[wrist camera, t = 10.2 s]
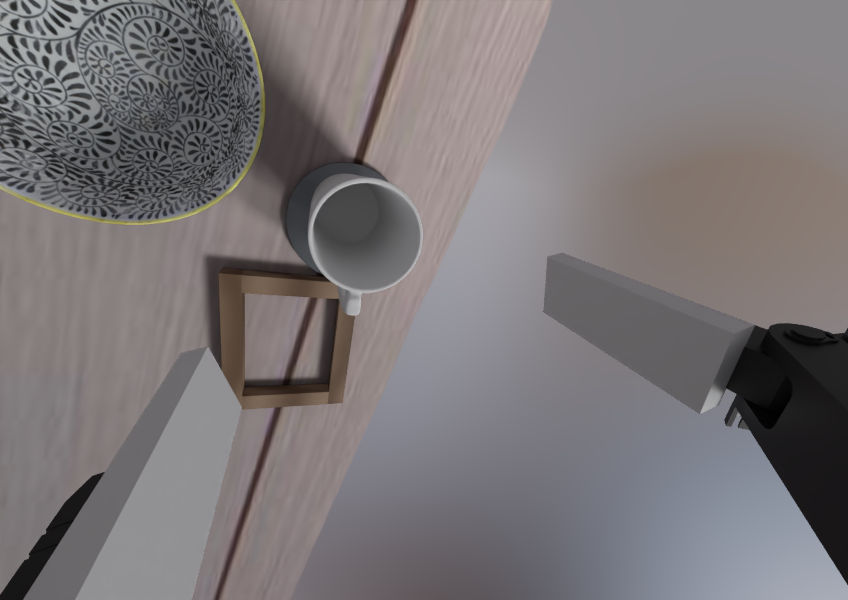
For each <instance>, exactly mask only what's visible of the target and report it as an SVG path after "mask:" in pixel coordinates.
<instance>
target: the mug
mask: <svg viewBox="0 0 848 600" xmlns="http://www.w3.org/2000/svg"><path fill="white" fill-rule="evenodd" d="M422 241H423V229H422V223H421V219H420V216H419V213H418V211H417V209H416V207H415V205H414V204H413V202H412V201H411V200H410V198H409V197H408V196H407V195H406V194H405V193H404V192H403V191H402V190H400V189H399V188H398V187H396V186H394V185H393V184H391V183H389V182H387V181H384V180H381V179H377V178H369V177H364V176H358V175H354V174H346V173H342V174H336V175H332V176H330V177H328V178H326V179H325V180H324V181H322V182H321V183H320V184H319V186H318V187H317V188H316V190H315V192H314V194H313V197H312V200H311V206H310V214H309V221H308V244H309V249H310V252H311V255H312V258H313V260H314V262H315V264H316V266H317V267H318V269H319V270H320V271H321V272H322V274H323V275H324V276H325V277H326V278H327V279H329V280H330V281H331V282H332V283H334V284H335V285H337V289H338V295H339V301H340V306H341V309H342V310H343V311H344V312H345V313H346V314H347V315H358V314H359V313H360V307H361V294H362V293H372V292H378V291H381V290H385V289H387V288H389V287H391V286H393V285H395V284H397V283H398V282H399V281H401V280H402V279H403V278H404V277H405V276H406V275H407V274H408V273H409V272H410V271H411V269H412V268H413V267H414V265H415V263H416V261H417V259H418V257H419V254H420V251H421V247H422Z"/></svg>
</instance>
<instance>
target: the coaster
mask: <svg viewBox="0 0 848 600" xmlns="http://www.w3.org/2000/svg"><path fill="white" fill-rule="evenodd" d="M342 173H346V174H354V175H358V176H364V177H369V178H377V179H381V180H384V181H387V180H386V179H385V178H384V177H382V176H381V175H380V174H378V173H377V172H375V171H374V170H372V169H370V168H367V167H365V166H362V165H359V164H353V163H341V162H340V163H332V164H328V165H324V166H322V167H319V168H317V169H315V170H314V171H312V172H310V173H309V174H308V175H307V176H305V177H304V178H303V179H302V180H301V181H300V183H299V184H298V185H297V186H296V188H295V190H294V191H293V193H292V195H291V198H290V200H289V204H288V207H287V215H286V225H287V231H288V235H289V238H290V241H291V243H292V245H293V248H294V249H295V251H296V252H297V254H298V255H299V257H300V258H301V259H302V260H303V261H304V262H305V263H306V264H307V265H308V266H309V267H311V268H312V269H313V270H315V271H316V272H318V273H320V274H322V272H321V271H320V270H319V269H318V267H317V266H316V264H315V262H314V260H313V258H312V255H311V252H310V249H309V244H308V221H309V214H310V206H311V200H312V197H313V194H314V192H315V190H316V188H317V187H318V186H319V184H320V183H321V182H322V181H324V180H325V179H326V178H328V177H330V176H332V175H336V174H342ZM387 182H388V181H387ZM322 275H323V274H322Z"/></svg>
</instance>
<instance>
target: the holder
mask: <svg viewBox="0 0 848 600" xmlns="http://www.w3.org/2000/svg"><path fill="white" fill-rule="evenodd" d="M245 293H250V294H266V295H282V296H299V297H315V298H331V299H338V305H337V313H336V322H335V330H334V339H333V347H332V356H331V364H330V373H329V381H328V384H307V385H282V386H258V387H245ZM219 302H220V332H221V362H222V372H223V374H224V376H225V378H226V379H227V381H228V383H229V385H230V387H231V388H232V390H233V392H234V394H235V396H236V397H237V399H238V401H239V403H240V405H241V406H242V409H256V408H272V407H287V406H302V405H318V404H333V403H343V396H344V389H345V382H346V375H347V368H348V361H349V354H350V347H351V340H352V333H353V326H354V319H355V315H347V314H346V313H345V312H344V311H343V310H342V309H341V306H340V301H339V295H338V289H337V285H335V284H334V283H332V282H331V281H330V280H329V279H327V278H326V277H322V276H311V275H299V274H288V273H277V272H265V271H254V270H243V269H231V268H222V269H221V271H220V272H219Z"/></svg>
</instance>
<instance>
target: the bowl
mask: <svg viewBox="0 0 848 600" xmlns="http://www.w3.org/2000/svg"><path fill="white" fill-rule="evenodd" d="M264 123H265V91H264V83H263V77H262V71H261V67H260V63H259V59H258V55H257V52H256V49H255V46H254V43H253V40H252V37H251V34H250V32H249V29H248V27H247V24H246V22H245V20H244V17H243V16H242V14H241V11H240V9H239V7H238V5H237V4H236V2H235V0H0V189H1V190H3V191H5V192H7V193H9V194H11V195H13V196H16V197H18V198H20V199H22V200H24V201H27V202H29V203H32V204H34V205H37V206H40V207H42V208H46V209H49V210H51V211H54V212H58V213H61V214H65V215H69V216H73V217H77V218H81V219H85V220H90V221H96V222H103V223H111V224H123V225H146V224H154V223H162V222H169V221H173V220H178V219H182V218H185V217H188V216H191V215H194V214H196V213H199V212H201V211H203V210H205V209H207V208H209V207H211V206H213V205H214V204H216V203H217V202H219V201H220V200H221V199H223V198H224V197H225V196H227V195H228V194H229V193H230V192H231V191H232V190H233V189H234V188H235V187H236V186H237V185H238V184H239V182H240V181H241V180H242V179H243V177H244V176H245V174H246V173H247V172H248V170H249V168H250V167H251V165H252V163H253V161H254V159H255V157H256V154H257V152H258V149H259V146H260V142H261V139H262V135H263V130H264Z"/></svg>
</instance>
